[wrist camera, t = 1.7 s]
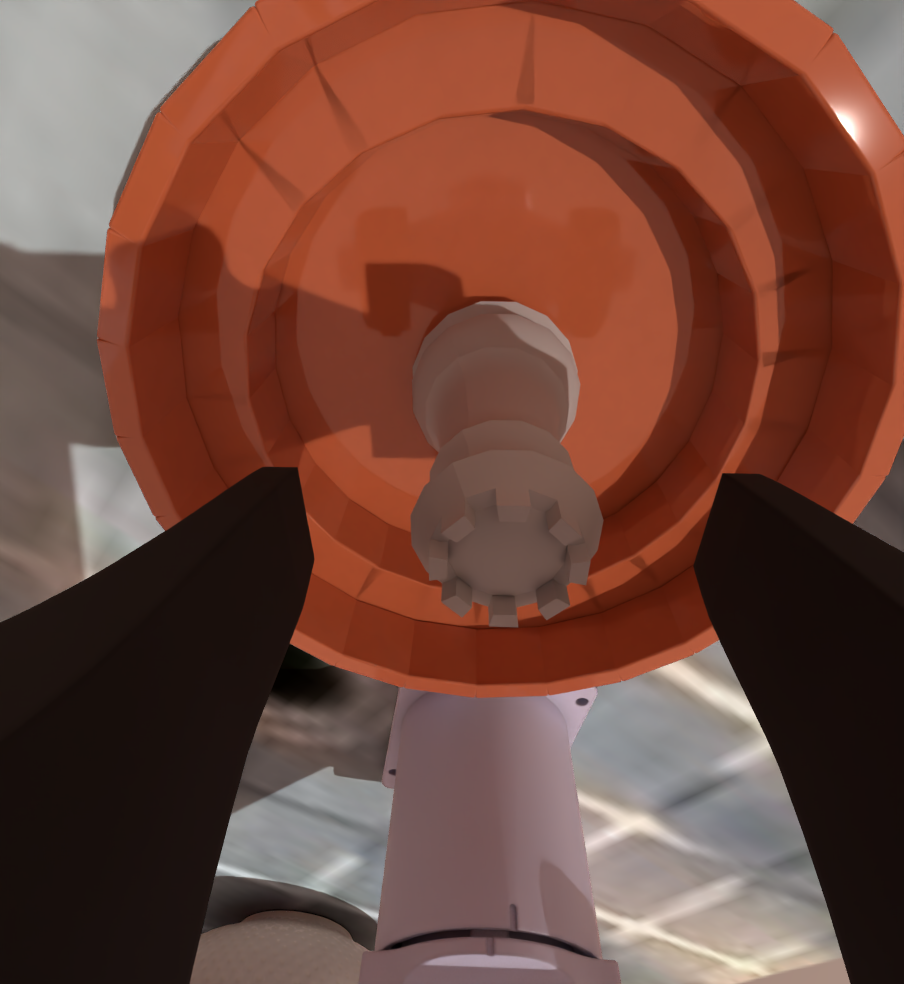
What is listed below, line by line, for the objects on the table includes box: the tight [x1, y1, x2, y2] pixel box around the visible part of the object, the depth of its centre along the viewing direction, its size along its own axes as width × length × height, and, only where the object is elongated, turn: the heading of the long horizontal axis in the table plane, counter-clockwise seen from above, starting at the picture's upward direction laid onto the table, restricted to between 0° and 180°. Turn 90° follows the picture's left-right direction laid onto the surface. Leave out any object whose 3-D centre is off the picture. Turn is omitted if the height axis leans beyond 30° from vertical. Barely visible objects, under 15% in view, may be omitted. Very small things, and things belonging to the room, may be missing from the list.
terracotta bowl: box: [97, 0, 904, 698], centre depth 14 cm, size 16×16×5 cm
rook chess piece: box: [410, 301, 604, 627], centre depth 12 cm, size 4×4×8 cm
